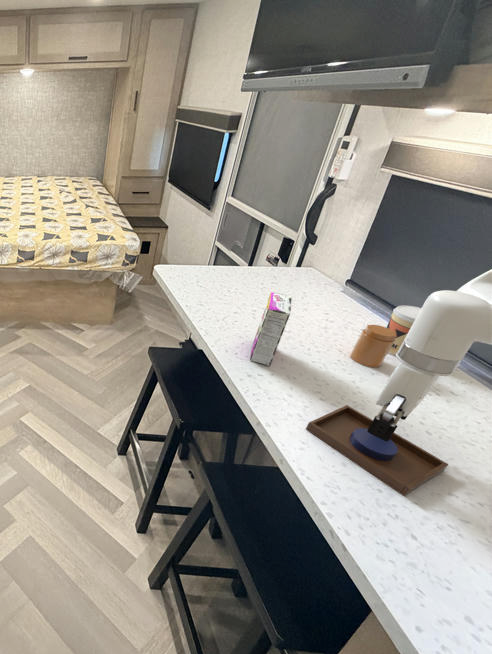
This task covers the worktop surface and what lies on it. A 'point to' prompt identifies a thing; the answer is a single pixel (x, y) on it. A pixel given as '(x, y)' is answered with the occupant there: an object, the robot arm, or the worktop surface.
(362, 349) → the jam jar
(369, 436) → the jar lid
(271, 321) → the candy bar box
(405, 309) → the coffee cup
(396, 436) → the walnut tray
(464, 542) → the worktop surface
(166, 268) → the worktop surface
